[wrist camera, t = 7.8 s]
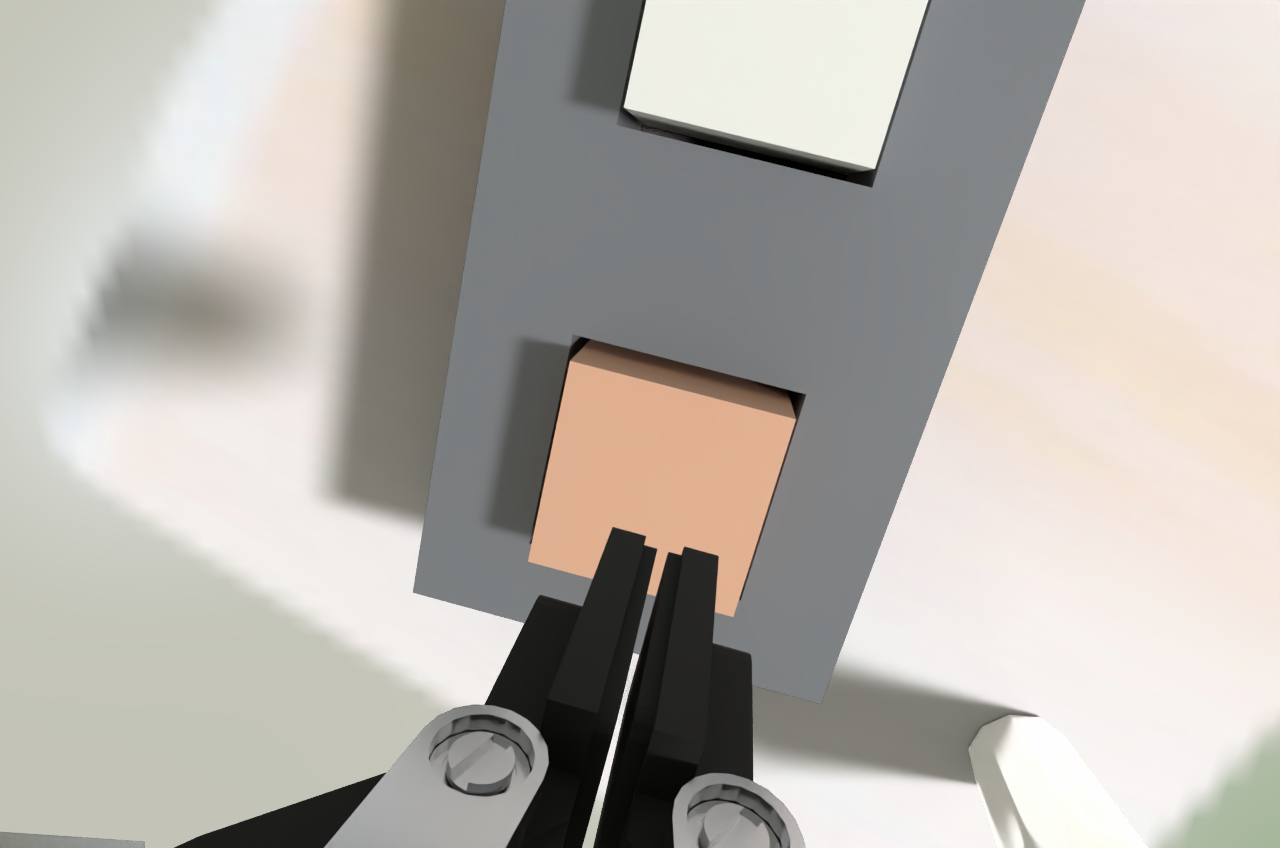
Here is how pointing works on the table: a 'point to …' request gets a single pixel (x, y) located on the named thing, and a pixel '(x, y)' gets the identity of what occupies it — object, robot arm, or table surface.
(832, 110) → the white square block
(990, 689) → the table surface
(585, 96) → the key panel
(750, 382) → the clay key
